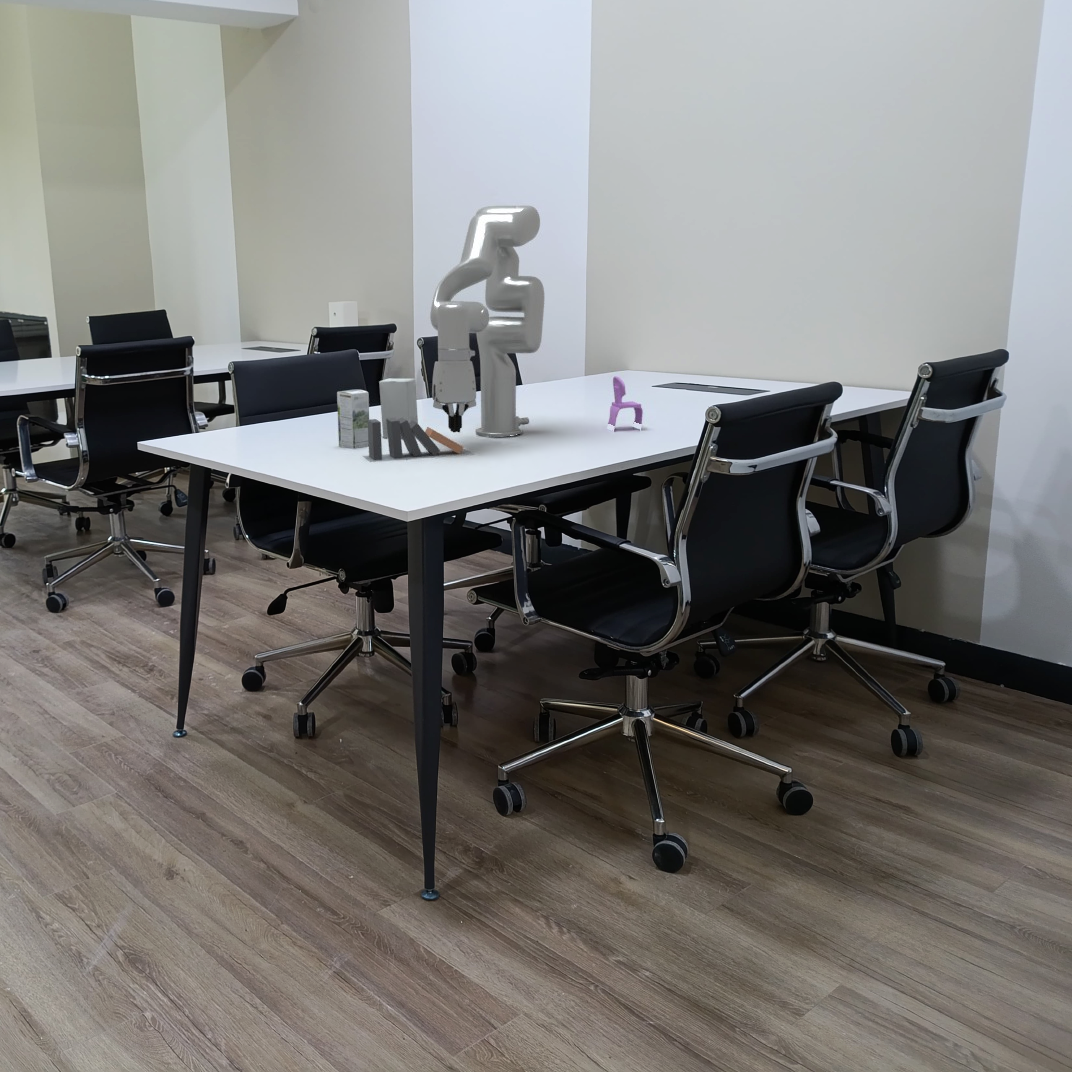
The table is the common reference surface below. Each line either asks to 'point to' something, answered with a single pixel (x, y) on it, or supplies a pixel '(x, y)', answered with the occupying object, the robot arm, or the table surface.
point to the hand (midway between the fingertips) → (455, 431)
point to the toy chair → (622, 403)
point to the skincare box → (398, 401)
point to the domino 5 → (444, 440)
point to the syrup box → (353, 418)
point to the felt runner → (422, 455)
